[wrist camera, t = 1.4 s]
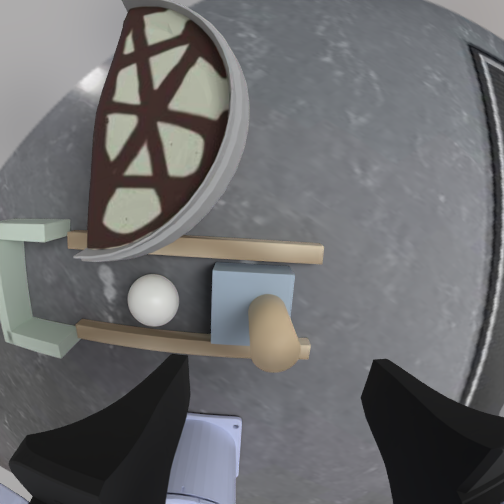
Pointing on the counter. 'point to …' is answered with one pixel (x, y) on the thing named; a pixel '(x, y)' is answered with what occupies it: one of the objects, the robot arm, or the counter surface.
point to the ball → (153, 300)
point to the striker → (255, 312)
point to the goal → (17, 293)
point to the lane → (205, 249)
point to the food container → (163, 131)
